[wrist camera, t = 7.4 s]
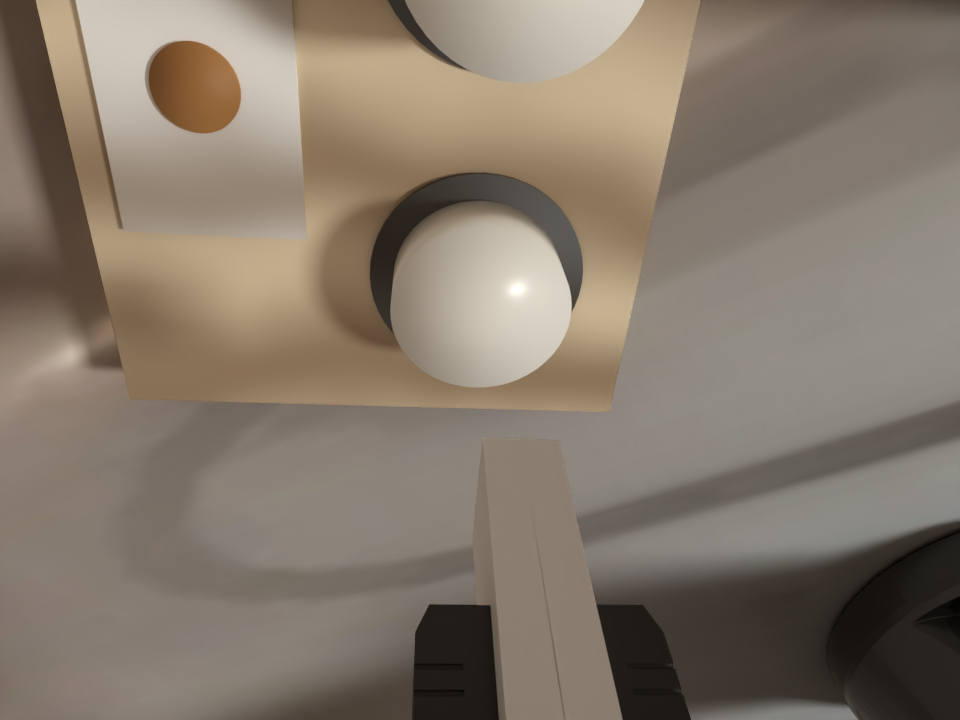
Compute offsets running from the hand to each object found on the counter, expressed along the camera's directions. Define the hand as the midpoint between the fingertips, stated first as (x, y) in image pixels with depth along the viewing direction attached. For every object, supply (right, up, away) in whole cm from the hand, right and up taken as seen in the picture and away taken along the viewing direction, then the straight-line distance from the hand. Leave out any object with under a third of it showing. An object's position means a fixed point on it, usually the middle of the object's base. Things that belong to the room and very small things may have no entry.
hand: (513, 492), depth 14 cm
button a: (-1, +5, +7) cm, 9 cm away
